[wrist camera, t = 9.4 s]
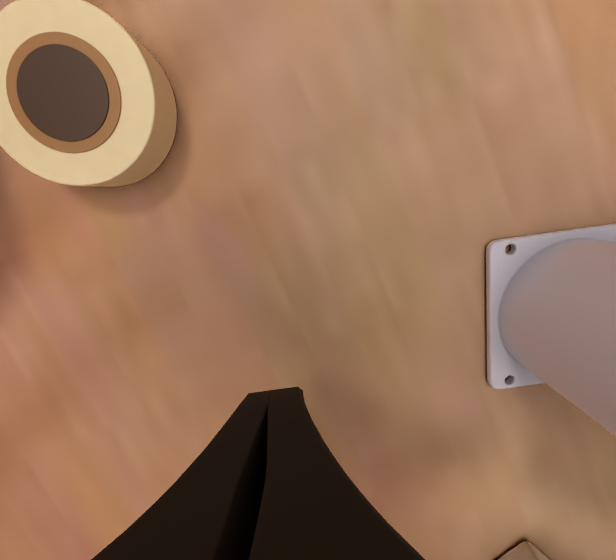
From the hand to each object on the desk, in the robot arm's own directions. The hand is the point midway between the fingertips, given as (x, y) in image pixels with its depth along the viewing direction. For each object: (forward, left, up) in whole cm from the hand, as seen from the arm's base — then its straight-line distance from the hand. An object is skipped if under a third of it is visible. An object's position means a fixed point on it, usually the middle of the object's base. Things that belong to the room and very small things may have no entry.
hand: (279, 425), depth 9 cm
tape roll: (+7, -10, -9) cm, 15 cm away
